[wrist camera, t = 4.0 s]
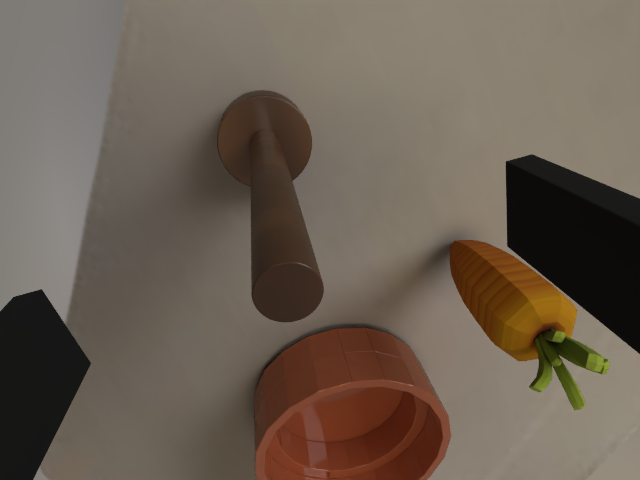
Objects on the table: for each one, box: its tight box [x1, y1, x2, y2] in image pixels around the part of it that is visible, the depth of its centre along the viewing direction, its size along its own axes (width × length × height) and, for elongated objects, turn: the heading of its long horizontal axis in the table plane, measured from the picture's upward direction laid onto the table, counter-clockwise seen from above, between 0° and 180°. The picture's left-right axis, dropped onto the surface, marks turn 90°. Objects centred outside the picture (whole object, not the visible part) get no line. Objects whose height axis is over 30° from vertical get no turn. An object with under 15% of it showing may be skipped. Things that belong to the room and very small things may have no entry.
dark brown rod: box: [217, 90, 324, 322], centre depth 18 cm, size 6×6×18 cm
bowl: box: [254, 328, 451, 480], centre depth 35 cm, size 15×15×6 cm
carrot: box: [450, 240, 609, 410], centre depth 26 cm, size 5×5×15 cm
